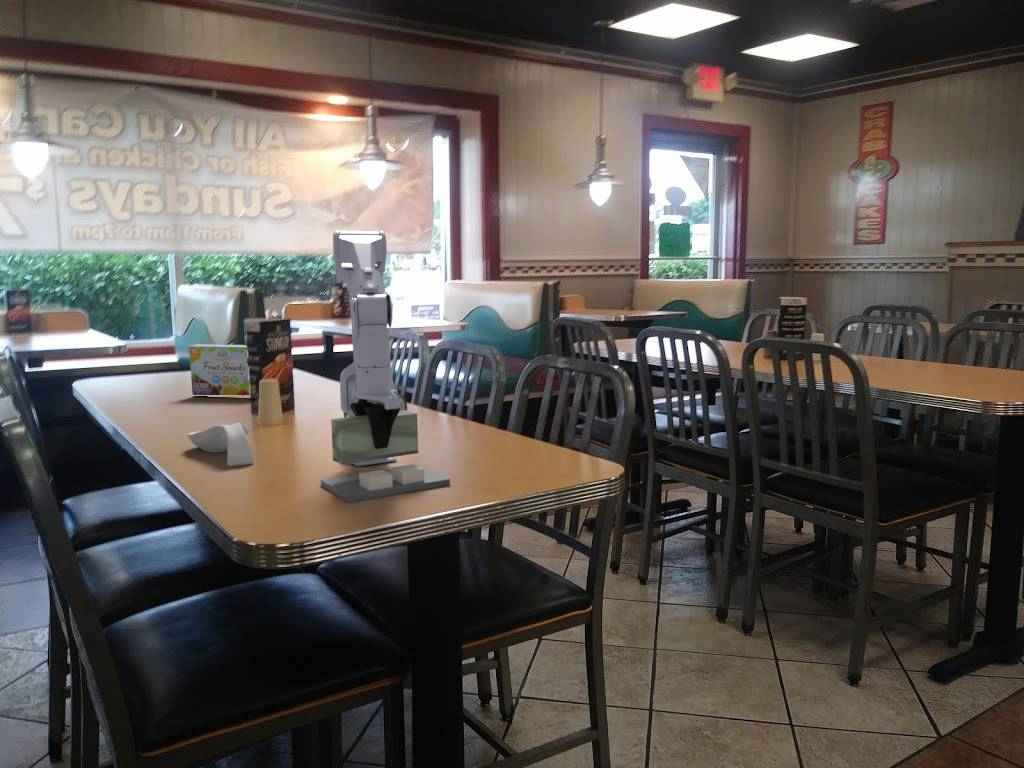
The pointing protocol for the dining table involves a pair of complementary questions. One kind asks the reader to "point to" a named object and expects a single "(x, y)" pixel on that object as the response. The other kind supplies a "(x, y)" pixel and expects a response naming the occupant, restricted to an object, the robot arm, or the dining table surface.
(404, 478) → the chalk tile
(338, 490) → the slate board
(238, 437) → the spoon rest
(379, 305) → the robot arm
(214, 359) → the snack box
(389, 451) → the block
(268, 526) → the dining table surface
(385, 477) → the chalk tile
